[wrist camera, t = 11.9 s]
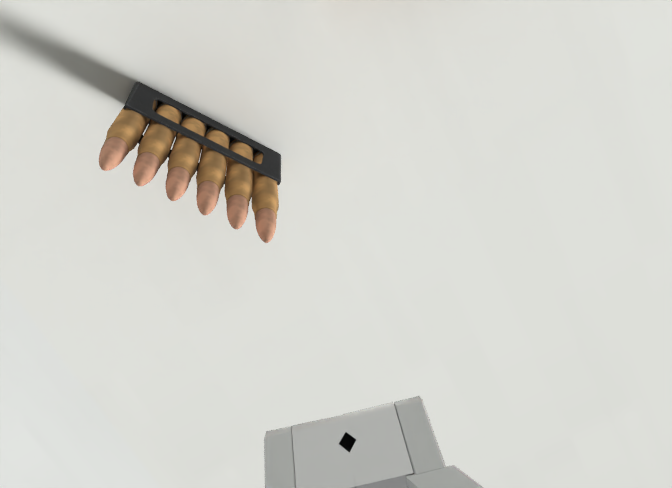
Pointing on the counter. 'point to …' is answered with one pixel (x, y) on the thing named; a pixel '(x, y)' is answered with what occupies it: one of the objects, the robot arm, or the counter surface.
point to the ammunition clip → (196, 157)
